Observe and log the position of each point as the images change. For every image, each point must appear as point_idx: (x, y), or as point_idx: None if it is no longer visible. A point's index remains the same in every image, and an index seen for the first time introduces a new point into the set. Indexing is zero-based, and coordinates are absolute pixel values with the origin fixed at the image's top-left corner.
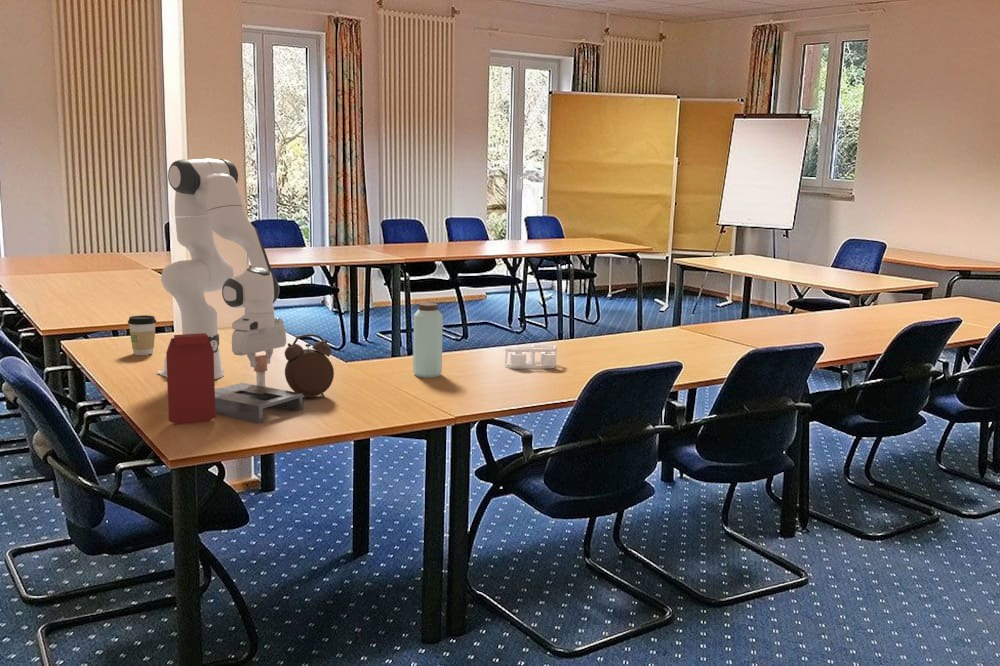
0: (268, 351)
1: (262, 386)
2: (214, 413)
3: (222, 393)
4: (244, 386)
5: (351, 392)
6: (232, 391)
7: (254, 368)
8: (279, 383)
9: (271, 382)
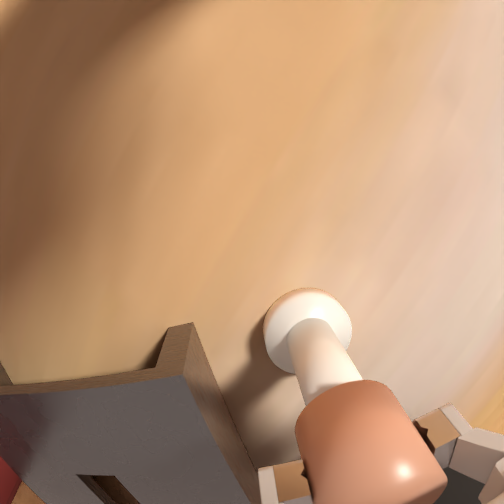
0: (485, 496)
1: (234, 481)
2: (20, 479)
3: (35, 456)
4: (154, 444)
5: (497, 417)
6: (75, 464)
7: (300, 438)
8: (496, 162)
9: (485, 118)
